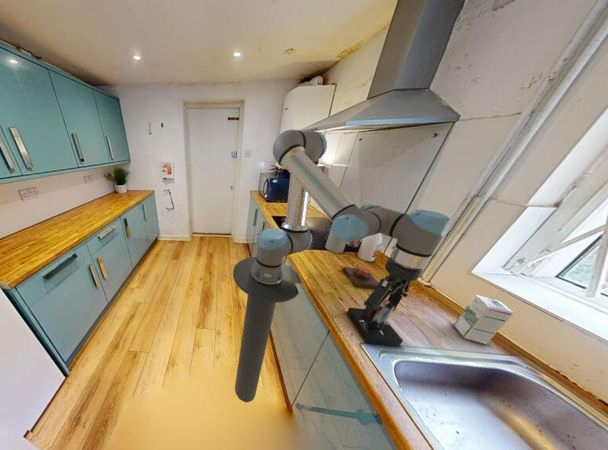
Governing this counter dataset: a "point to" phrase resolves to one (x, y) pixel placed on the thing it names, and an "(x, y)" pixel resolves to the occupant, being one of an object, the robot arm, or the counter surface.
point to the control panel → (374, 330)
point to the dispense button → (363, 271)
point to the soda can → (353, 243)
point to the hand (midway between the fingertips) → (377, 314)
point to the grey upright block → (382, 314)
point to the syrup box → (482, 319)
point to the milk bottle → (370, 247)
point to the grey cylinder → (335, 243)
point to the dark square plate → (360, 278)
